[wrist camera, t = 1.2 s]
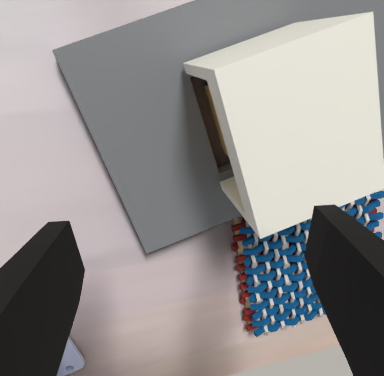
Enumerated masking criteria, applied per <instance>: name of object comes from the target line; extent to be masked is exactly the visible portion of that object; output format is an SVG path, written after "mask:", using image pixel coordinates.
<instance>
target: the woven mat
mask: <svg viewBox="0 0 384 376" xmlns="http://www.w3.org/2000/svg"><path fill="white" fill-rule="evenodd" d="M383 197H384V191H380V192H375V193H372V194H370V195H367V196H365V197H362V198H360V199H357V200H355V201H352V202H350V203H348V204H345V205H343V206H340V207H339V208H341V209H342V210H343V211H345V212H346V213H347V214H349V215H350V216H352V217H353V218H354V217H355V218H354V219H356V220H357V221H358V222H360V223H361V224H362V225H364V226H365V227H366V228H368V229H369V230H370V231H372V232H374V227H377V226H379V222H378V220H379V219H382V218H383V213H381V212H379V213H377V209H376V208H375V207H378V206H380V201H379V200H378V199H379V198H383ZM311 219H312V218H311ZM311 219H308V220H306V221H303V222H301V223H298V224H296V225H294V226H291V227H289V228H286V229H284V230H281V231H279V232H276V233H274V234H271V235H269V236H266V237H264V238H262V239H260V238H259V237H258V235H257V234H256V233H255V232H254V230H253V229H252V228H251V226H250V225H249V224H248V222H247V221H245V222H242V216H240V217H237V218H235V219H233V221H234V225H231V226H232V231H233V232H235V235H234V236H233V240H234V242H235V243H234V244H233V245H232V246H231V249H232V250H233V251H234V252H235V251H236V250H237V251H238V256H236V260H237V262H239V264H238V265H236V270H240V272H241V274H239V275H238V276H239V279H240V281H242V283H240V288H241V290H243V291H242V292H241V295H242V298H241V299H240V303H243V304H244V303H245V306H246V309H243V310H244V314H245V315H244V321H247V322H248V325H246V329H247V331H250V330H252V329H255V328H256V330H255V331H254V335H255V336H257V337H258V336H259V335H261V334H262V333H263V332H264V335H268V333H269V332H268V331H270V332H274V331H277V330H278V329H279V327H280V326H281V329H282V330H283V329H284V327H285V325H292V327H296V324H297V323H298V322H299V321H300V323H301V324H302V323H303V322H304V320H306V321H309V320H312V319H313V318H314V317H315V315H316V314H319V315H318V316H317V317H321V316H322V315H323V314H326V313H325V311H324V309H323V308H322V307H323V306H322V304H321V302H320V300H319V297H318V295H317V293H316V291H315V288H314V286H313V283H312V280H311V277H310V274H309V270H308V267H307V263H306V260H305V256H304V255H305V250H306V245H307V239H308V234H309V229H310V224H311ZM307 221H308V222H307ZM306 222H307V223H306ZM366 225H367V226H366ZM374 234H376V235H377V236H378V237H380V238H381V237H382V233H381V232H376V233H374ZM252 246H253V248H252ZM268 251H269V253H268ZM267 253H268V254H267ZM270 270H271V272H270ZM269 272H270V273H269ZM270 291H271V292H270ZM255 300H256V302H255ZM259 303H260V304H259ZM298 305H299V306H298ZM273 306H274V307H273ZM297 306H298V308H296V307H297ZM254 312H255V313H254ZM305 313H306V314H305ZM289 318H291V319H289ZM300 319H301V320H300ZM275 320H277V321H276V322H275ZM274 323H275V324H274ZM273 324H274V325H273Z"/></svg>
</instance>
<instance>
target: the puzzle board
mask: <svg viewBox="0 0 384 376" xmlns="http://www.w3.org/2000/svg"><path fill="white" fill-rule="evenodd" d="M367 12H373V16H374V30H375V44H376V59H377V73H378V87H379V102H380V116H381V130H382V144H383V159H384V0H195V1H192V2H189V3H186V4H183V5H180V6H178V7H175V8H172V9H169V10H166V11H163V12H160V13H157V14H155V15H152V16H149V17H146V18H143V19H140V20H137V21H135V22H132V23H129V24H126V25H123V26H120V27H117V28H115V29H112V30H109V31H106V32H103V33H100V34H97V35H94V36H92V37H89V38H86V39H83V40H80V41H77V42H74V43H72V44H69V45H66V46H63V47H60V48H57V49H54V50H52V51H53V53H54V55H55V58H56V60H57V62H58V64H59V66H60V68H61V71H62V73H63V75H64V77H65V79H66V81H67V83H68V86H69V88H70V90H71V92H72V94H73V96H74V99H75V101H76V103H77V105H78V107H79V109H80V111H81V114H82V116H83V118H84V120H85V122H86V124H87V127H88V129H89V131H90V133H91V135H92V137H93V139H94V142H95V144H96V146H97V148H98V150H99V152H100V155H101V157H102V159H103V161H104V163H105V165H106V167H107V170H108V172H109V174H110V176H111V178H112V180H113V183H114V185H115V187H116V189H117V191H118V193H119V195H120V198H121V200H122V202H123V204H124V206H125V208H126V211H127V213H128V215H129V217H130V219H131V221H132V223H133V226H134V228H135V230H136V232H137V234H138V236H139V239H140V241H141V243H142V245H143V247H144V249H145V252H146V254H147V253H150V252H152V251H155V250H157V249H160V248H162V247H165V246H167V245H170V244H172V243H175V242H177V241H180V240H182V239H185V238H187V237H190V236H192V235H195V234H197V233H200V232H202V231H205V230H207V229H210V228H212V227H215V226H217V225H220V224H222V223H225V222H227V221H230V220H232V219H235V218H237V217H240V216H242V215H241V213H240V212H239V211H238V210H237V208H236V207H235V206H234V204H233V203H232V202H231V201H230V199H229V198H228V197H227V195H226V194H225V193H224V192H223V190H222V188H221V185H220V182H221V181H224V180H226V179H229V178H231V177H234V173H233V170H232V166H231V163H227V164H224V165H222V166H219V167H217V164H216V161H215V158H214V154H213V151H212V148H211V145H210V141H209V138H208V135H207V132H206V128H205V125H204V122H203V118H202V115H201V112H200V109H199V105H198V102H197V99H196V96H195V92H194V89H193V86H192V83H191V79H190V77H193V76H192V75H189V74H186V72H185V69H184V65H183V63H185V62H187V61H190V60H193V59H196V58H199V57H201V56H204V55H207V54H210V53H212V52H215V51H218V50H221V49H223V48H226V47H229V46H232V45H234V44H237V43H240V42H243V41H246V40H248V39H251V38H254V37H257V36H259V35H262V34H265V33H268V32H270V31H273V30H276V29H279V28H281V27H284V26H287V25H290V24H292V23H296V22H303V21H310V20H317V19H324V18H331V17H339V16H346V15H353V14H360V13H367Z"/></svg>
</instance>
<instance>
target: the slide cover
mask: <svg viewBox="0 0 384 376" xmlns="http://www.w3.org/2000/svg"><path fill="white" fill-rule="evenodd" d="M183 65H184V69H185V72H186V74H189V75H192V76H195V77H198V78H201V79H204V80H206V81H207V82H208V86H209V89H210V93H211V96H212V100H213V103H214V107H215V110H216V114H217V117H218V121H219V124H220V128H221V131H222V135H223V138H224V142H225V145H226V149H227V152H228V156H229V159H230V163H231V166H232V170H233V173H234V177H231V178H229V179H226V180H224V181H221V182H220V185H221V188H222V190H223V192H224V193H225V194H226V195H227V197H228V198H229V199H230V201H231V202H232V203H233V204H234V206H235V207H236V208H237V210H238V211H239V212H240V213H241V215H242V216H243V217H244V219H245V220H246V221H247V222H248V224H249V225H250V226H251V228H252V229H253V230H254V232H255V233H256V234H257V235H258V237H259V238H260V239H262V238H264V237H266V236H269V235H271V234H274V233H276V232H279V231H281V230H284V229H286V228H289V227H291V226H294V225H296V224H298V223H301V222H303V221H306V220H308V219H311V218H312V214H313V209H314V206H318V205H334V204H335V205H336V206H338V207H340V206H343V205H345V204H348V203H350V202H352V201H355V200H357V199H360V198H362V197H365V196H367V195H370V194H372V193H375V192H377V191H379V190H382V189H384V159H383V144H382V130H381V116H380V102H379V87H378V73H377V59H376V44H375V30H374V16H373V12H367V13H360V14H353V15H346V16H339V17H331V18H324V19H317V20H310V21H303V22H296V23H292V24H290V25H287V26H284V27H281V28H279V29H276V30H273V31H270V32H268V33H265V34H262V35H259V36H257V37H254V38H251V39H248V40H246V41H243V42H240V43H237V44H234V45H232V46H229V47H226V48H223V49H221V50H218V51H215V52H212V53H210V54H207V55H204V56H201V57H199V58H196V59H193V60H190V61H187V62H185V63H183Z"/></svg>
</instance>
